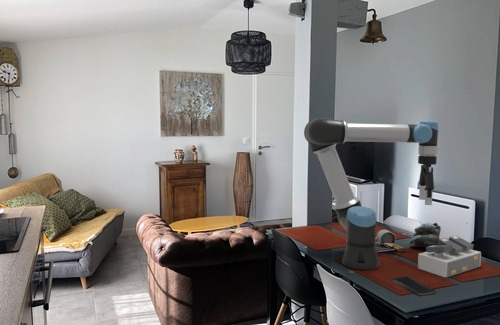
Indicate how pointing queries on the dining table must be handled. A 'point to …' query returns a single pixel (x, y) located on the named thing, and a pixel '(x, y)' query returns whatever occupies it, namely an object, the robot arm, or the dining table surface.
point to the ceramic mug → (385, 237)
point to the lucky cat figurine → (426, 235)
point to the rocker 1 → (439, 248)
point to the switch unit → (449, 262)
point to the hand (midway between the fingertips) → (425, 202)
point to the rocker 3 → (461, 243)
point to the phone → (413, 286)
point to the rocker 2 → (455, 247)
